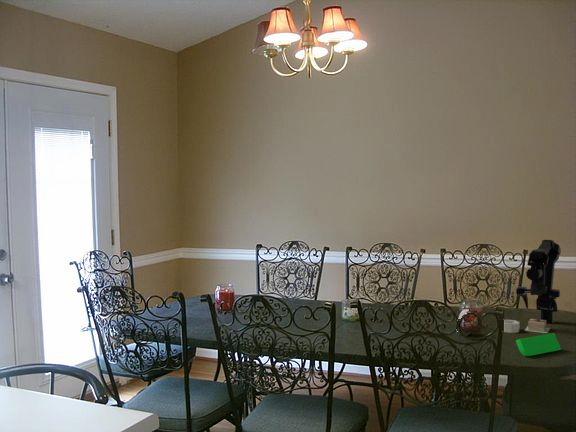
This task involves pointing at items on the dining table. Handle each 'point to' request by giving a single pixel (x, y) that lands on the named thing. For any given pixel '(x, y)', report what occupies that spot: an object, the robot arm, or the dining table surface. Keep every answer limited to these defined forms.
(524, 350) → the green rectangular block
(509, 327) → the bowl
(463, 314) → the figurine
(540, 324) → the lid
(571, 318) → the dining table surface
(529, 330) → the mat
